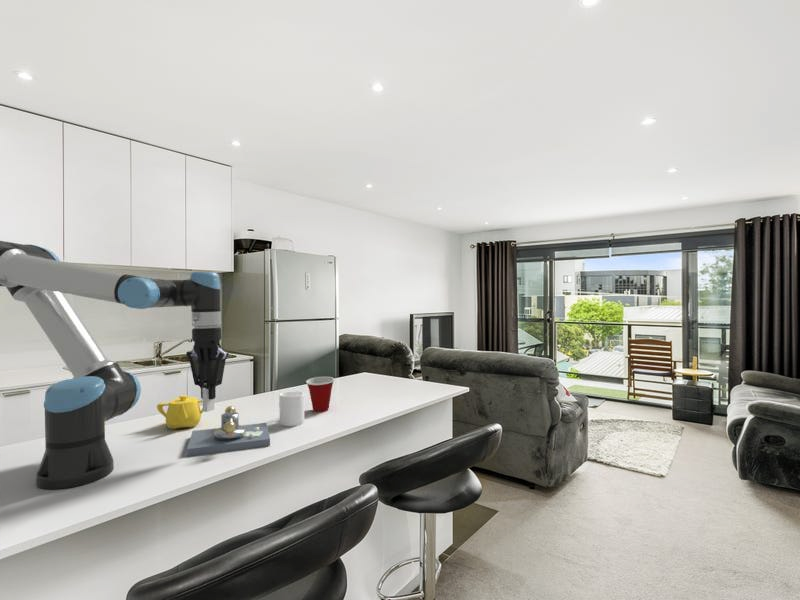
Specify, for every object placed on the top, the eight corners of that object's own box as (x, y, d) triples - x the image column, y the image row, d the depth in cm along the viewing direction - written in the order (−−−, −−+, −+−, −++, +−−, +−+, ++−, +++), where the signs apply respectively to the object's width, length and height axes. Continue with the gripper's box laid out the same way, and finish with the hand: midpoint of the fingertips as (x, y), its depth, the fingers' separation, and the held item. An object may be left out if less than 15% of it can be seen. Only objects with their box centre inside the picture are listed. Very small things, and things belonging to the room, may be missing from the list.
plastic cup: (300, 411, 161) (299, 380, 161) (318, 405, 170) (318, 375, 170) (322, 415, 156) (322, 383, 156) (340, 408, 165) (340, 377, 165)
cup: (288, 428, 141) (287, 398, 141) (269, 421, 149) (269, 392, 149) (309, 422, 147) (308, 393, 147) (290, 416, 155) (290, 388, 155)
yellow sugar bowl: (214, 423, 147) (214, 393, 147) (180, 434, 136) (180, 402, 136) (187, 418, 153) (187, 390, 153) (153, 428, 142) (153, 397, 142)
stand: (186, 456, 117) (186, 444, 117) (192, 437, 133) (192, 427, 133) (270, 445, 125) (269, 434, 125) (266, 428, 141) (266, 419, 141)
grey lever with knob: (215, 425, 136) (215, 406, 136) (245, 422, 140) (245, 403, 140) (212, 447, 117) (211, 425, 117) (246, 443, 120) (246, 421, 120)
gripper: (177, 327, 118) (179, 412, 118) (215, 328, 114) (217, 415, 114) (198, 325, 125) (200, 405, 125) (234, 326, 121) (236, 408, 121)
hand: (208, 410), depth 120 cm, fingers closed
